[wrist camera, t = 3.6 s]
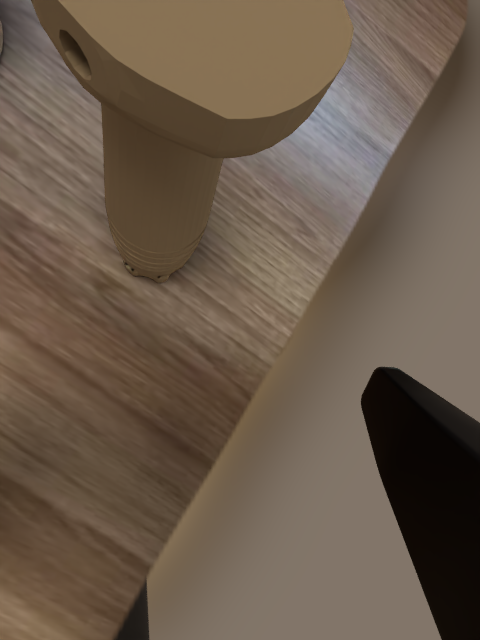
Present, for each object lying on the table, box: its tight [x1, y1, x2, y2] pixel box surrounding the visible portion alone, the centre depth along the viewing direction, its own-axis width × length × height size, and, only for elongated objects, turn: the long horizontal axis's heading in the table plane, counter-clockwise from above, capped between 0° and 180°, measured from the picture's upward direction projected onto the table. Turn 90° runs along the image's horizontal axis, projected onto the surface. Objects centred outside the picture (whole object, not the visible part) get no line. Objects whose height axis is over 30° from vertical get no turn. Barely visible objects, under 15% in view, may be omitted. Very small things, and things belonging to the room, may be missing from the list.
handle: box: [31, 0, 354, 283], centre depth 14 cm, size 5×6×15 cm
